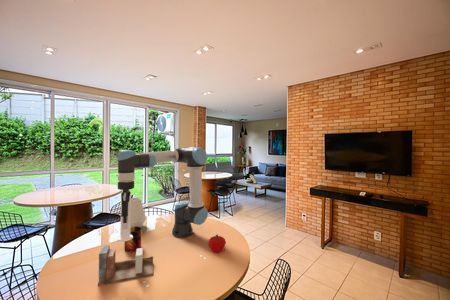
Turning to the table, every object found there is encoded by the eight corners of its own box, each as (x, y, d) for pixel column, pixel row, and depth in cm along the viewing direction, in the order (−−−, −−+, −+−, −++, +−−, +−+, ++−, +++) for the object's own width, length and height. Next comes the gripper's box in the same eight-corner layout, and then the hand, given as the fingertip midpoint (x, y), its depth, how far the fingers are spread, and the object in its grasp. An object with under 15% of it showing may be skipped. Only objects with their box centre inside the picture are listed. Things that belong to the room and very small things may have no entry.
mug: (140, 254, 120) (140, 234, 120) (120, 250, 123) (121, 231, 123) (149, 246, 129) (150, 228, 129) (131, 243, 133) (131, 225, 133)
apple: (215, 244, 133) (215, 229, 133) (228, 249, 127) (228, 233, 127) (205, 251, 125) (205, 235, 125) (218, 256, 119) (218, 239, 119)
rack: (152, 263, 111) (153, 238, 111) (153, 275, 100) (153, 247, 100) (103, 271, 102) (103, 244, 102) (97, 285, 92) (98, 255, 92)
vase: (130, 223, 169) (130, 195, 169) (149, 224, 166) (150, 196, 166) (116, 231, 152) (117, 201, 151) (138, 233, 149) (138, 202, 149)
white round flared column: (116, 242, 96) (117, 190, 96) (118, 237, 102) (118, 188, 103) (132, 240, 98) (133, 189, 99) (133, 234, 105) (133, 187, 106)
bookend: (142, 264, 107) (142, 247, 107) (141, 272, 100) (142, 254, 100) (136, 265, 106) (136, 248, 106) (135, 274, 99) (135, 255, 99)
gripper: (120, 178, 107) (119, 222, 107) (114, 184, 91) (114, 235, 91) (135, 178, 110) (135, 220, 110) (132, 183, 94) (132, 233, 94)
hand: (125, 227), depth 101 cm, fingers closed on white round flared column, 3 cm apart
